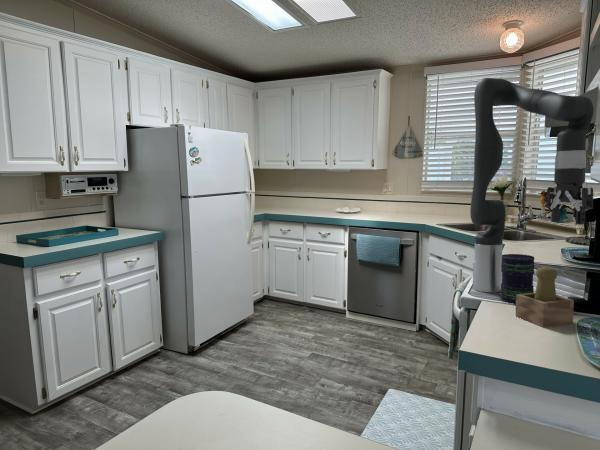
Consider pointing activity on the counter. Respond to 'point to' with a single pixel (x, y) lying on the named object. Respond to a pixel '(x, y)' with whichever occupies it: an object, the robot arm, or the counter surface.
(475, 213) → the robot arm
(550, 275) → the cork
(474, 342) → the counter surface
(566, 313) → the open walnut box
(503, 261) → the storage jar
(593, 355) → the counter surface
